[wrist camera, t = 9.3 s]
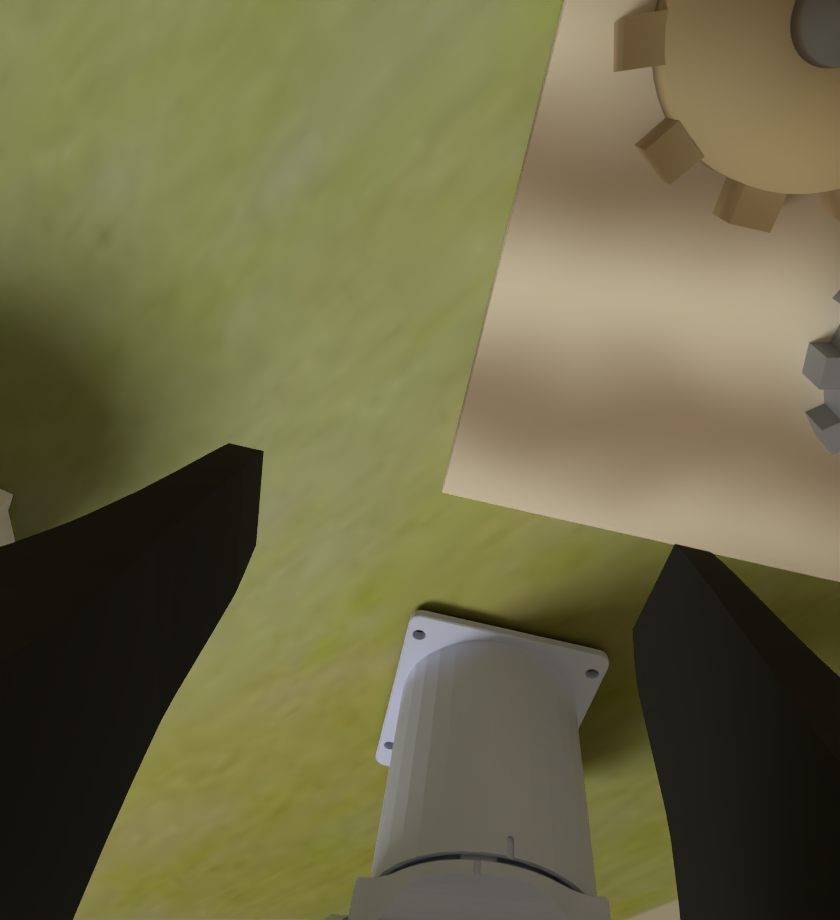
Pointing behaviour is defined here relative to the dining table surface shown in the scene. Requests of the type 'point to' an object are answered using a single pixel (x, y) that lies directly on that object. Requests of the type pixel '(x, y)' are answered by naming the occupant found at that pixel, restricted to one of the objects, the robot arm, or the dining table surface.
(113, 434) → the dining table surface
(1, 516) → the cup
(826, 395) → the planet gear
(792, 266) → the carrier
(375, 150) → the dining table surface
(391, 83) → the dining table surface
